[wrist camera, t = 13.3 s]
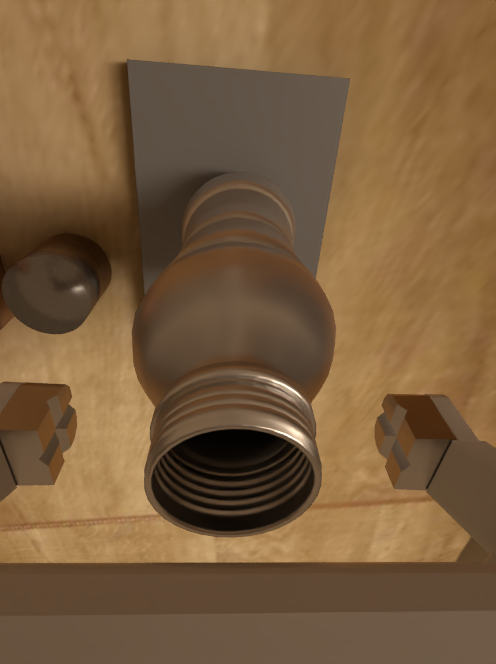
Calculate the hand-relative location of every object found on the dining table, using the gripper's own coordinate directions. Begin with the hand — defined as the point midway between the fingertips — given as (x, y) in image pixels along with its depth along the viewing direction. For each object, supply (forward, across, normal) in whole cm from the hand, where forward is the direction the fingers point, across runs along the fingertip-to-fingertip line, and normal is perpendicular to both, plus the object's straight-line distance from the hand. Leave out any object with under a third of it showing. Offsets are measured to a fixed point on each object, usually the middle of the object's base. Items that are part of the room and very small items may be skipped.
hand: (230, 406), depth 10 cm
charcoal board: (+19, 0, +1) cm, 19 cm away
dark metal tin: (+19, +11, +5) cm, 22 cm away
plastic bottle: (+18, 0, 0) cm, 18 cm away
